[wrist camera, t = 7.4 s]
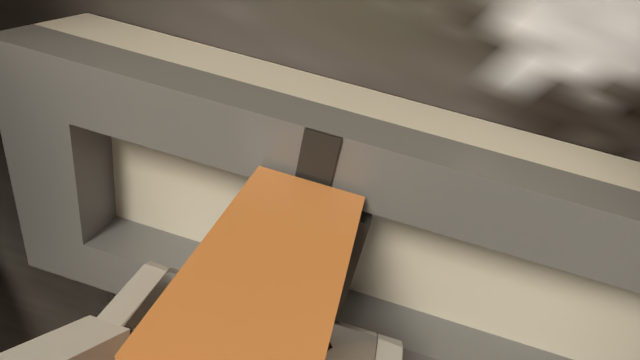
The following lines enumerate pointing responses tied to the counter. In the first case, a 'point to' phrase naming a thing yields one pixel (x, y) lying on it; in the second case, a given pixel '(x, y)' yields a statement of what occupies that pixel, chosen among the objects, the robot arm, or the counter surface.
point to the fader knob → (260, 277)
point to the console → (328, 169)
